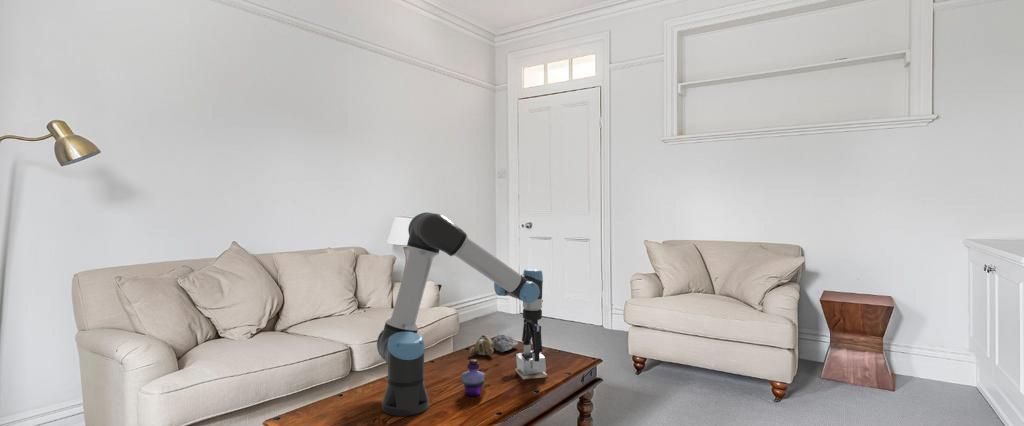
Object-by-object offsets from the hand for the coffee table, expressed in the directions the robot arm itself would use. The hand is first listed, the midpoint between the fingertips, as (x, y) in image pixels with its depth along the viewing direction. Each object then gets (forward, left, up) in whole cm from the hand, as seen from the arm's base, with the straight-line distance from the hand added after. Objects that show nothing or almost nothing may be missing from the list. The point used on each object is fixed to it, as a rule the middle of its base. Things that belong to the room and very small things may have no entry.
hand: (531, 364), depth 208 cm
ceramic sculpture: (-12, +30, -4) cm, 33 cm away
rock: (0, +36, -4) cm, 36 cm away
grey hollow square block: (0, 0, -2) cm, 2 cm away
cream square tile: (0, 0, -4) cm, 4 cm away
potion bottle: (-27, -15, -4) cm, 31 cm away
